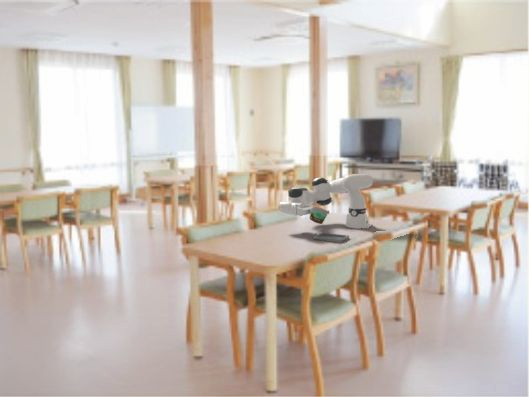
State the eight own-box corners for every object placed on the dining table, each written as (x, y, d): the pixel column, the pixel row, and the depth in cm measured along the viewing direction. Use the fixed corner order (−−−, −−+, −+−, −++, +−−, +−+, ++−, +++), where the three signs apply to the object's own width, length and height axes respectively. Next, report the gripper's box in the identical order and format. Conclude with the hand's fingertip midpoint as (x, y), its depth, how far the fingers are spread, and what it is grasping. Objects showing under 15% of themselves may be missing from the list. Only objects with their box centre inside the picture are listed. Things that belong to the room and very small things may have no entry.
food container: (308, 220, 354) (314, 207, 352) (307, 217, 360) (313, 204, 358) (325, 226, 356) (331, 213, 354) (324, 223, 362) (329, 210, 360)
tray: (322, 235, 363) (322, 232, 362) (349, 238, 353) (349, 235, 353) (313, 239, 350) (313, 236, 350) (340, 242, 340) (340, 239, 340)
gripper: (307, 211, 375) (325, 213, 368) (292, 215, 358) (311, 218, 350) (307, 202, 374) (325, 204, 367) (293, 206, 357) (311, 208, 349)
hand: (318, 211), depth 358 cm, fingers open, 2 cm apart
